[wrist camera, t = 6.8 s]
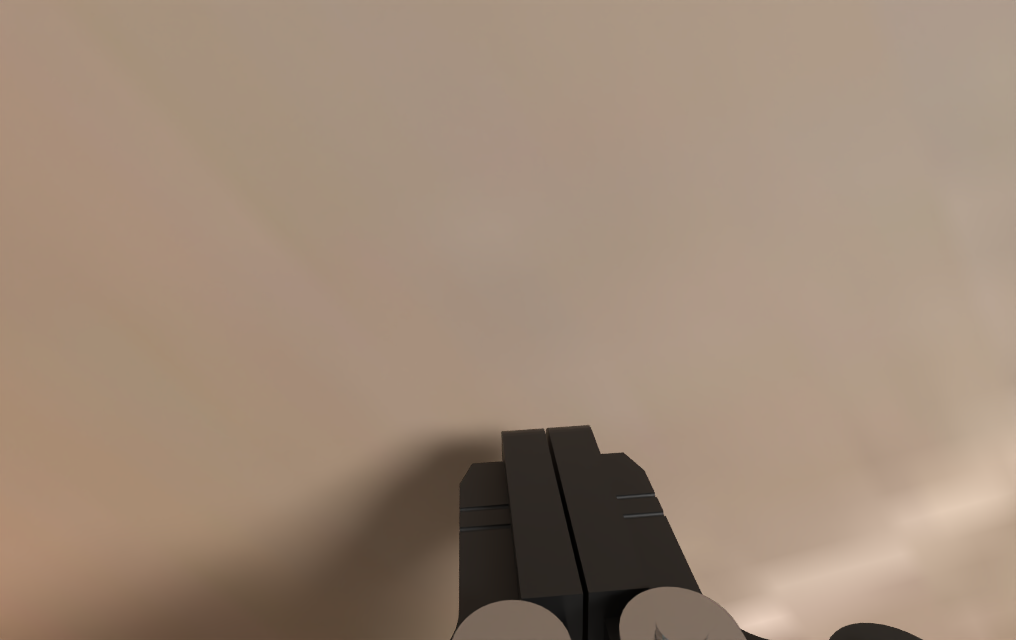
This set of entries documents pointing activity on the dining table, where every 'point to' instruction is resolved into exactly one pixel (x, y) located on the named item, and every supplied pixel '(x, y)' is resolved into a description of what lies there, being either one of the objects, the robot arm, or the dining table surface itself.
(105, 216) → the dining table surface
